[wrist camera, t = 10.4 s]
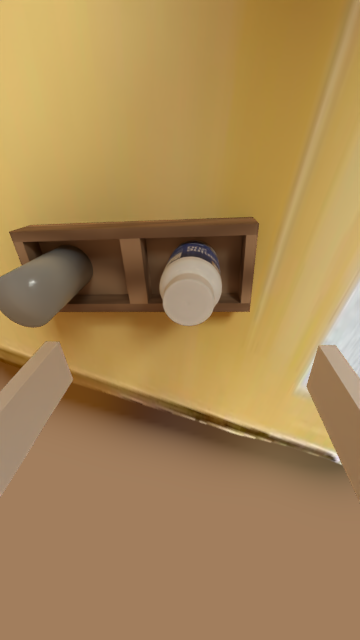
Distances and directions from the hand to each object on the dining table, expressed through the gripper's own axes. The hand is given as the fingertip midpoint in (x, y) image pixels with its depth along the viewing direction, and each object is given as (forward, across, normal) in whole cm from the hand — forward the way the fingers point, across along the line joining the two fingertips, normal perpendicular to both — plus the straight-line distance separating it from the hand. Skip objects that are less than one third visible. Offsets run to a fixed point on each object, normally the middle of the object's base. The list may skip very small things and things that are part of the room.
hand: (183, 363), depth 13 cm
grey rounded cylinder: (+16, -14, 0) cm, 22 cm away
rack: (+18, -6, 0) cm, 19 cm away
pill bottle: (+17, 0, 0) cm, 17 cm away
